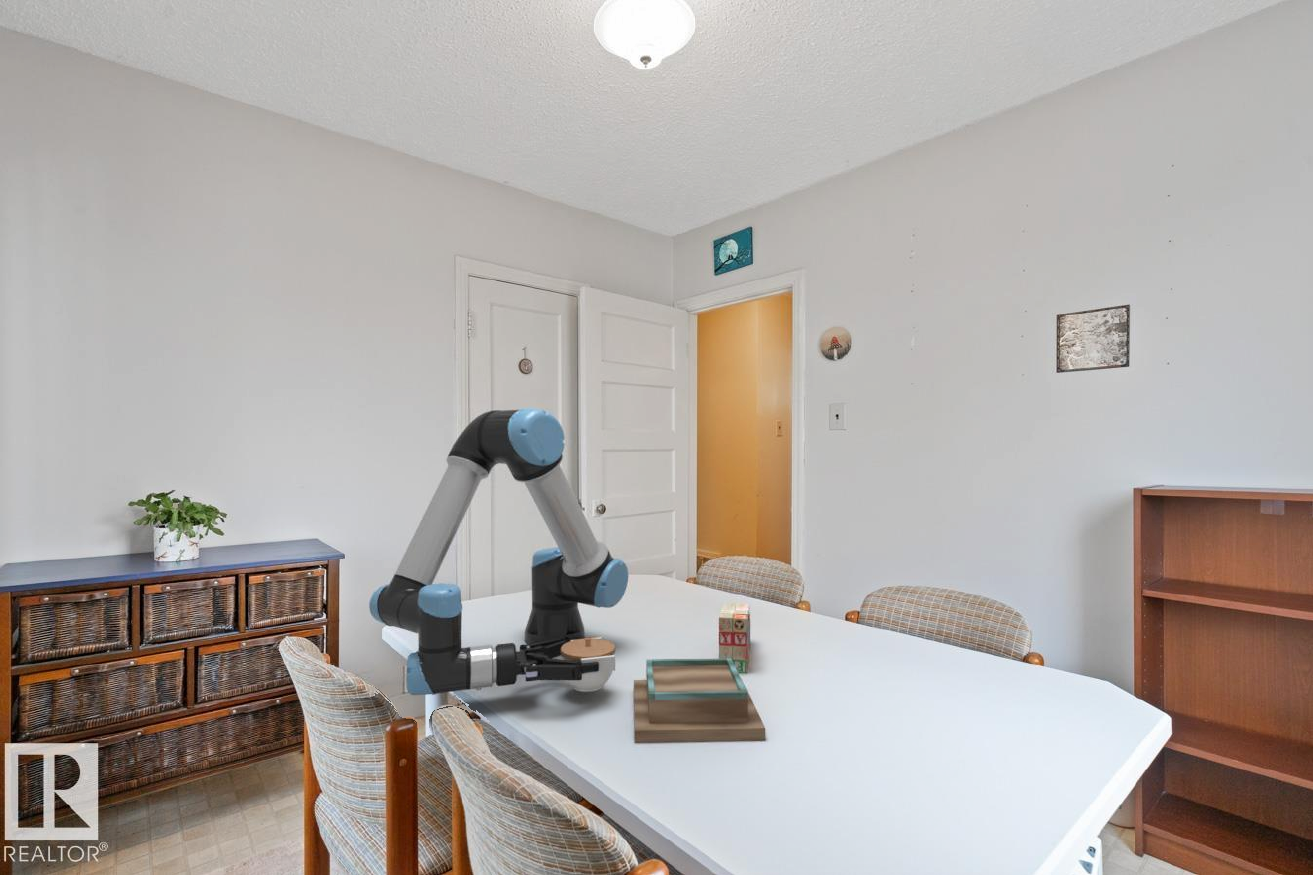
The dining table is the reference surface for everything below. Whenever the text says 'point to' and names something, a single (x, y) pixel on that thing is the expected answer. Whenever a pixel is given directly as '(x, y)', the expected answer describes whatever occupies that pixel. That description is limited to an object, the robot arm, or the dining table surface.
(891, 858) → the dining table surface
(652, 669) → the base
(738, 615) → the stack of blocks
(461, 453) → the robot arm
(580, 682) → the lidded jar
